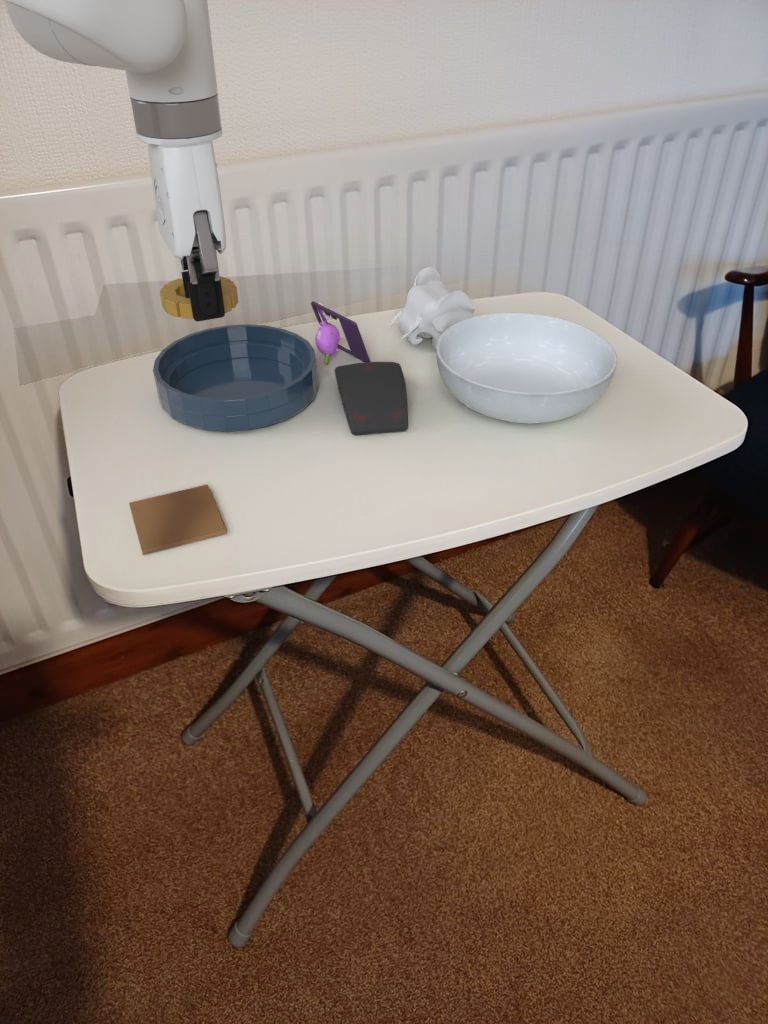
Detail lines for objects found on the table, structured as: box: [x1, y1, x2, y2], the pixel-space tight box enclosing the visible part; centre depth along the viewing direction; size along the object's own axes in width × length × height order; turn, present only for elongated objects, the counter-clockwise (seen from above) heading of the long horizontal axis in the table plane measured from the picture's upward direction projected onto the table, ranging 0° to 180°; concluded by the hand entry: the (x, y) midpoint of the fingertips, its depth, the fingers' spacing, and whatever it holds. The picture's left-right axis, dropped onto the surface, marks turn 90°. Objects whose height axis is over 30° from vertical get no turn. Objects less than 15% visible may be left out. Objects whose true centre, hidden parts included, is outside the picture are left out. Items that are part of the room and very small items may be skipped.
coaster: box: [128, 484, 227, 556], centre depth 77 cm, size 8×8×1 cm
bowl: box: [152, 323, 319, 432], centre depth 96 cm, size 19×19×4 cm
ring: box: [159, 275, 239, 320], centre depth 83 cm, size 8×8×2 cm
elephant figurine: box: [387, 266, 476, 349], centre depth 105 cm, size 10×12×9 cm
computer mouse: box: [334, 361, 409, 436], centre depth 93 cm, size 8×14×4 cm, turn 9°
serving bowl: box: [435, 311, 619, 424], centre depth 93 cm, size 21×21×7 cm
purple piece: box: [310, 300, 371, 365], centre depth 102 cm, size 7×5×9 cm
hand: (206, 311), depth 81 cm, fingers closed on ring, 2 cm apart
